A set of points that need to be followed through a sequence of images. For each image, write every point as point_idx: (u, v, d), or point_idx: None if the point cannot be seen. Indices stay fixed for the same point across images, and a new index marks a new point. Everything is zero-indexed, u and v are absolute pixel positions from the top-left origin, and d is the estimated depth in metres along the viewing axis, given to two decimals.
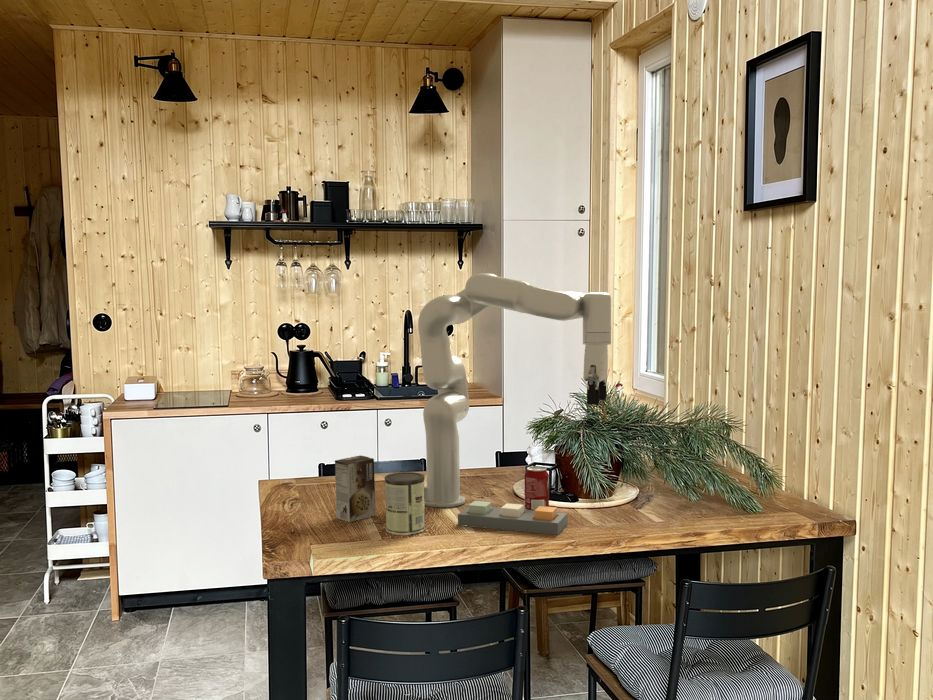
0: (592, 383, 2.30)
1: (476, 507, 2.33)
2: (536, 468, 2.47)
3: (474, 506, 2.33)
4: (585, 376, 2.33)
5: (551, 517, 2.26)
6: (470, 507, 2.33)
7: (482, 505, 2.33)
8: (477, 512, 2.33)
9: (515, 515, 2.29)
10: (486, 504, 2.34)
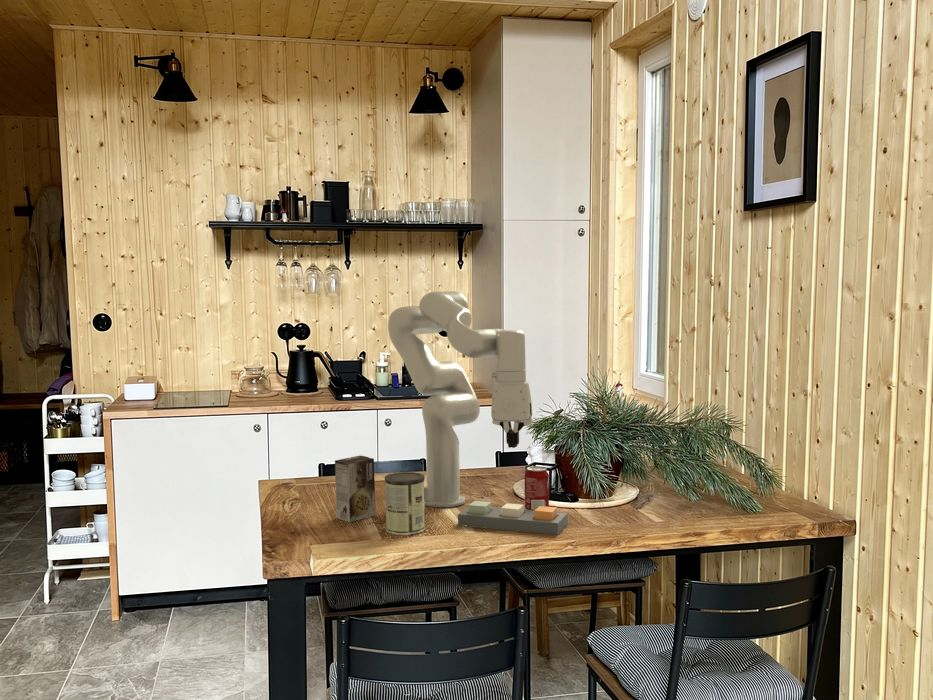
0: (523, 425, 2.31)
1: (476, 507, 2.33)
2: (536, 468, 2.47)
3: (474, 506, 2.33)
4: (528, 415, 2.28)
5: (551, 517, 2.26)
6: (470, 507, 2.33)
7: (482, 505, 2.33)
8: (477, 512, 2.33)
9: (515, 515, 2.29)
10: (486, 504, 2.34)
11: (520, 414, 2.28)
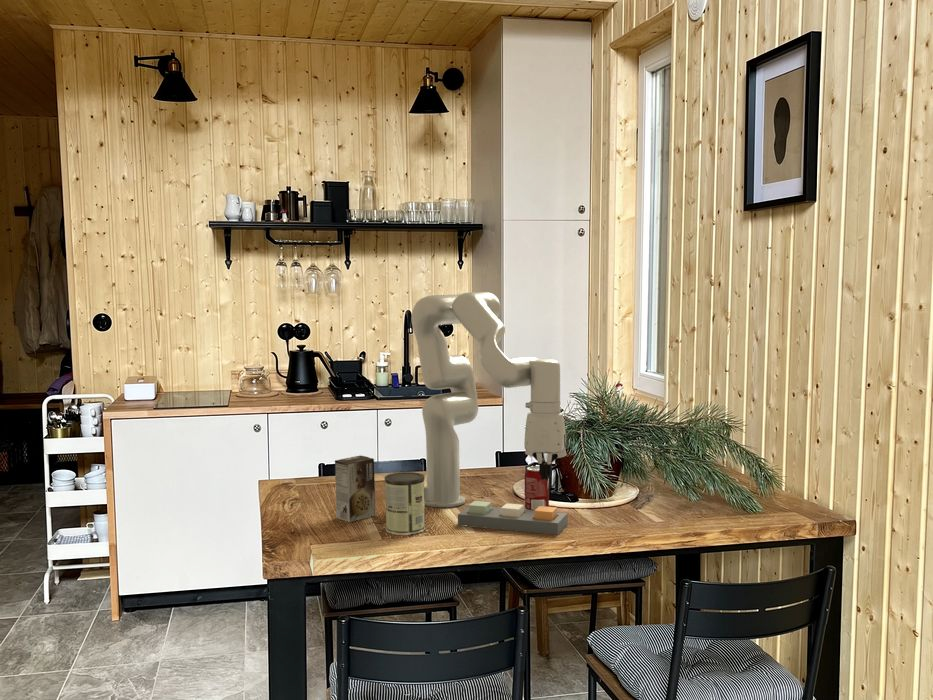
0: None
1: (476, 507, 2.33)
2: (536, 468, 2.47)
3: (474, 506, 2.33)
4: (562, 447, 2.24)
5: (551, 517, 2.26)
6: (470, 507, 2.33)
7: (482, 505, 2.33)
8: (477, 512, 2.33)
9: (515, 515, 2.29)
10: (486, 504, 2.34)
11: (554, 446, 2.23)
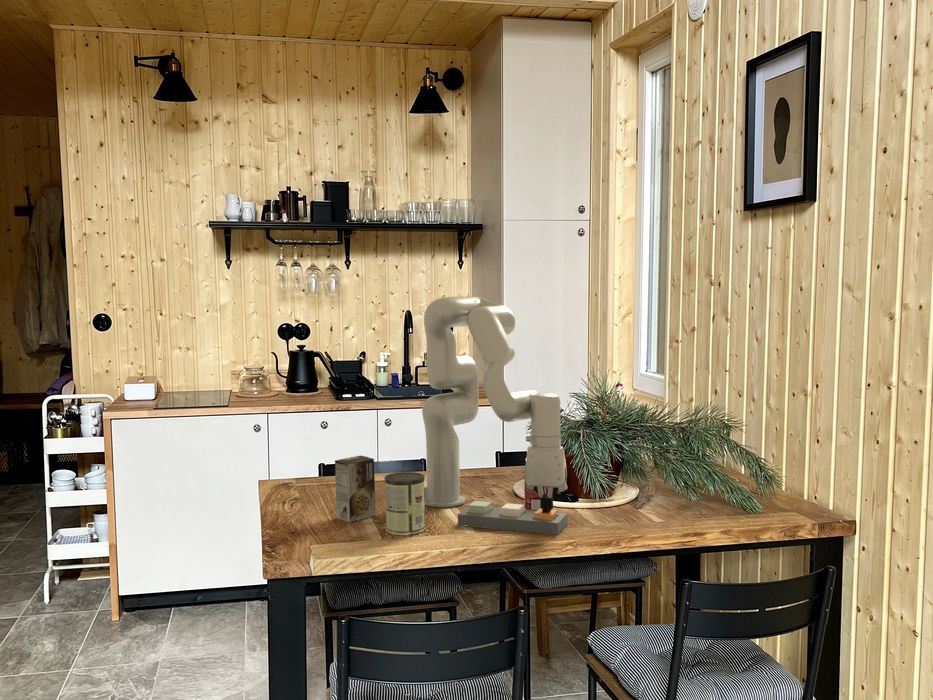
0: None
1: (476, 507, 2.33)
2: None
3: (474, 506, 2.33)
4: (563, 481, 2.24)
5: None
6: (470, 507, 2.33)
7: (482, 505, 2.33)
8: (477, 512, 2.33)
9: (515, 515, 2.29)
10: (486, 504, 2.34)
11: (555, 480, 2.24)
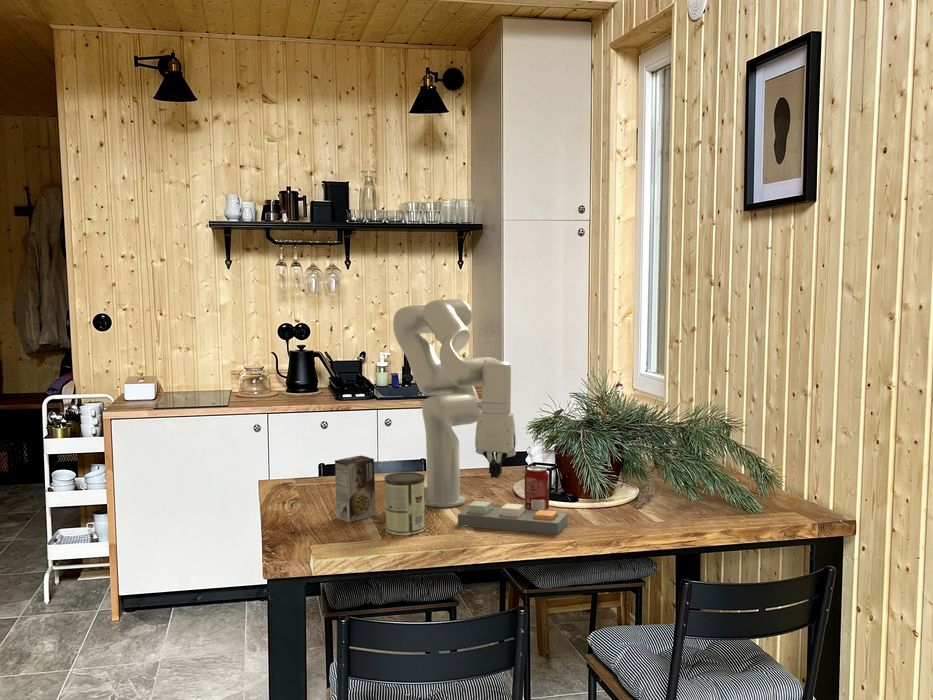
0: None
1: (476, 507, 2.33)
2: (536, 468, 2.47)
3: (474, 506, 2.33)
4: (511, 447, 2.29)
5: None
6: (470, 507, 2.33)
7: (482, 505, 2.33)
8: (477, 512, 2.33)
9: (515, 515, 2.29)
10: (486, 504, 2.34)
11: (504, 446, 2.29)
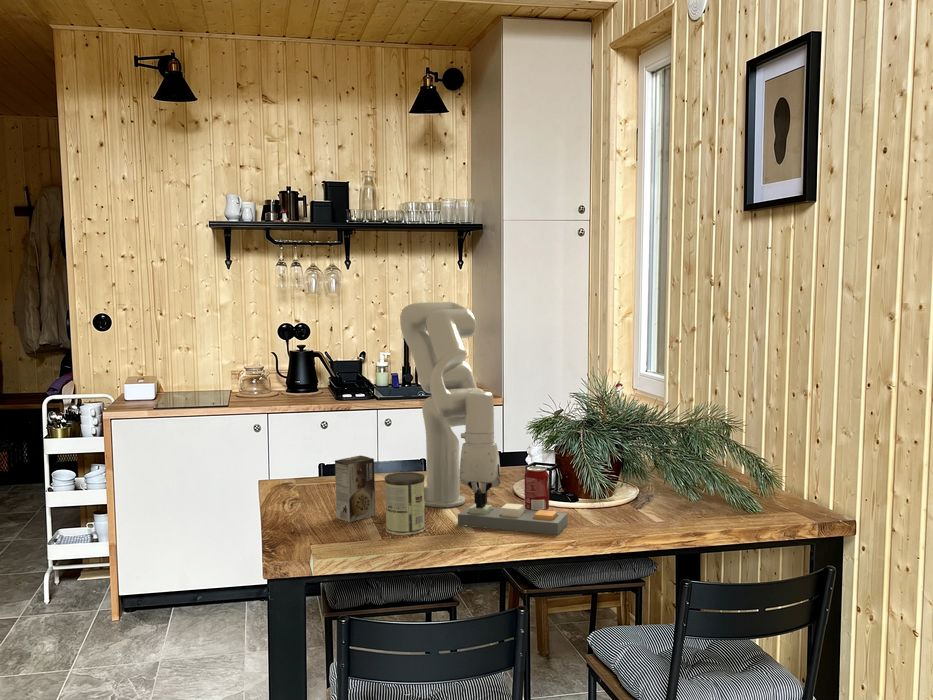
0: None
1: (476, 510, 2.33)
2: (536, 468, 2.47)
3: (474, 509, 2.33)
4: (495, 477, 2.30)
5: None
6: (470, 510, 2.33)
7: (482, 508, 2.33)
8: None
9: (515, 515, 2.29)
10: (486, 507, 2.34)
11: (488, 476, 2.30)
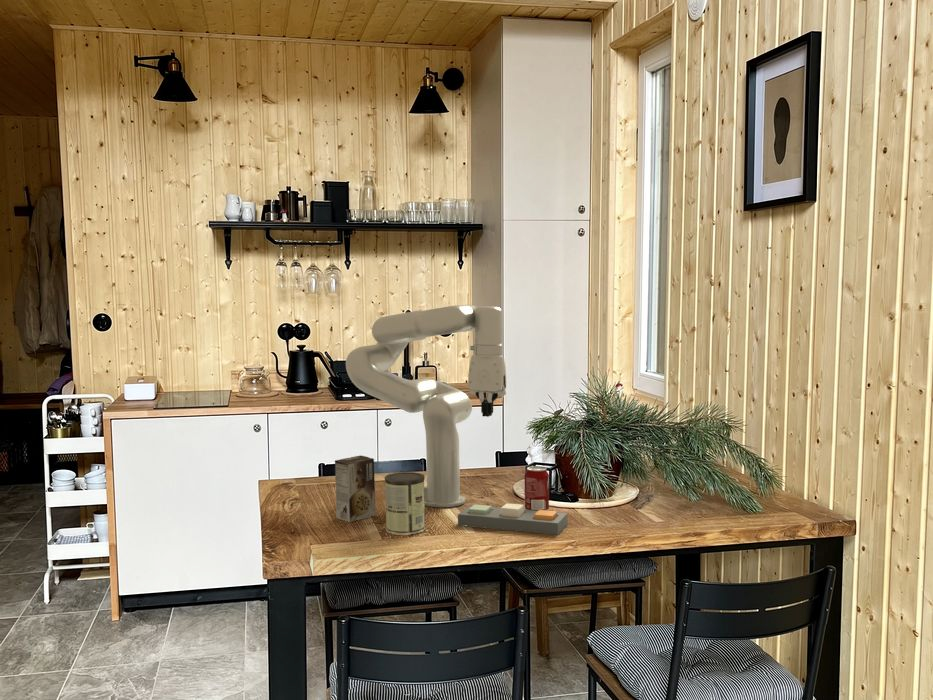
0: (497, 396, 2.46)
1: (476, 511, 2.33)
2: (536, 468, 2.47)
3: (474, 510, 2.33)
4: (501, 387, 2.43)
5: None
6: (470, 511, 2.33)
7: (482, 509, 2.33)
8: None
9: (515, 515, 2.29)
10: (486, 508, 2.34)
11: (494, 385, 2.43)
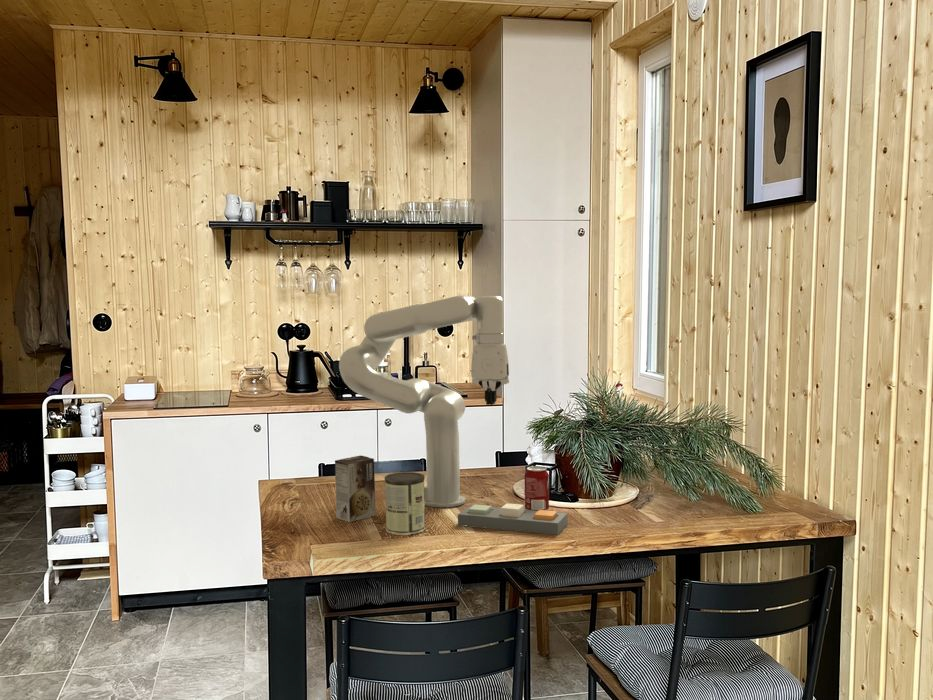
0: (500, 384, 2.50)
1: (476, 511, 2.33)
2: (536, 468, 2.47)
3: (474, 510, 2.33)
4: (505, 375, 2.46)
5: None
6: (470, 511, 2.33)
7: (482, 509, 2.33)
8: None
9: (515, 515, 2.29)
10: (486, 508, 2.34)
11: (497, 373, 2.46)
